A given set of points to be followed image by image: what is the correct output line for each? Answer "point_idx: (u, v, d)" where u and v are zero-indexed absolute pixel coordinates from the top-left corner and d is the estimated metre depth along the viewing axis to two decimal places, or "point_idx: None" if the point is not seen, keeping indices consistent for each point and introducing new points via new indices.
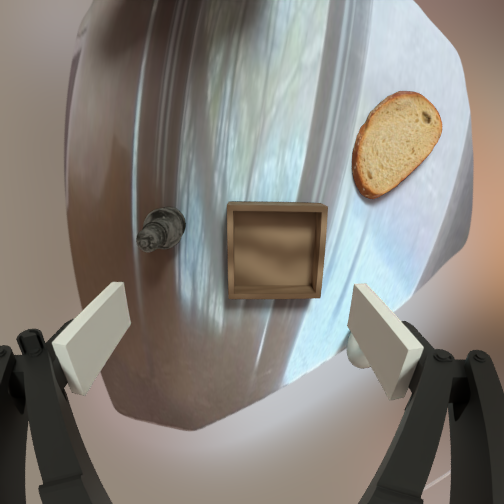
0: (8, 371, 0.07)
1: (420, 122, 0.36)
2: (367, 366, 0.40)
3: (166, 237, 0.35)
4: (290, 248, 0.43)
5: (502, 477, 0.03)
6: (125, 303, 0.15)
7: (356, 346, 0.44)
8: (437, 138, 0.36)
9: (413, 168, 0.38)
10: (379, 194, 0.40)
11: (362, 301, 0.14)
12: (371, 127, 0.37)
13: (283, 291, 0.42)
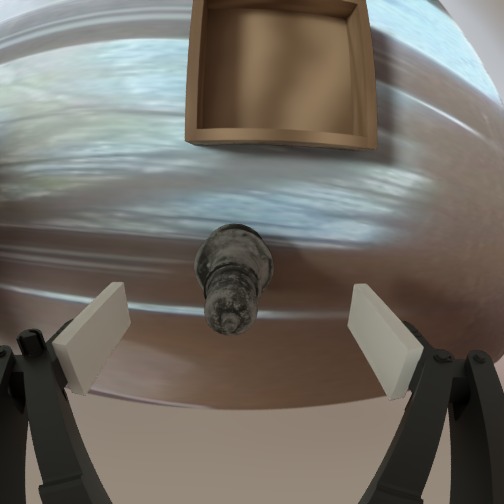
0: (8, 371, 0.07)
1: None
2: None
3: (236, 264, 0.17)
4: (280, 42, 0.19)
5: (502, 477, 0.03)
6: (125, 303, 0.15)
7: None
8: None
9: None
10: None
11: (362, 301, 0.14)
12: None
13: (359, 52, 0.17)
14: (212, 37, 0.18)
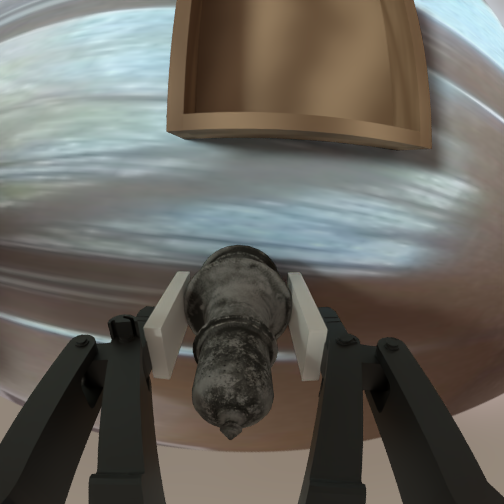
0: (86, 364, 0.09)
1: None
2: None
3: (241, 319, 0.11)
4: (298, 8, 0.13)
5: (452, 465, 0.04)
6: None
7: None
8: None
9: None
10: None
11: (291, 288, 0.16)
12: None
13: (401, 24, 0.11)
14: (210, 1, 0.12)
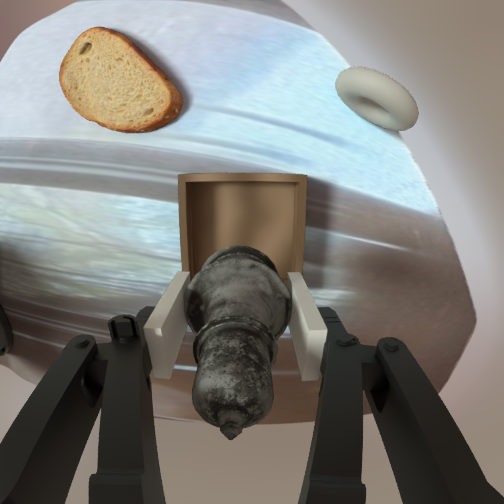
0: (86, 364, 0.09)
1: (89, 55, 0.26)
2: (414, 108, 0.22)
3: (241, 320, 0.11)
4: (242, 211, 0.33)
5: (452, 465, 0.04)
6: None
7: (386, 117, 0.27)
8: (103, 32, 0.24)
9: (138, 56, 0.26)
10: (171, 96, 0.28)
11: (290, 288, 0.16)
12: (95, 116, 0.29)
13: (296, 224, 0.32)
14: (195, 207, 0.33)
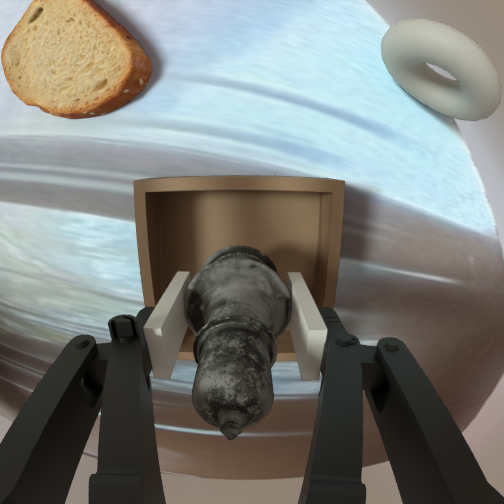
0: (86, 364, 0.09)
1: (38, 21, 0.14)
2: (500, 88, 0.10)
3: (241, 320, 0.11)
4: (239, 235, 0.22)
5: (452, 465, 0.04)
6: None
7: (454, 99, 0.15)
8: None
9: (93, 11, 0.14)
10: (133, 59, 0.16)
11: (290, 288, 0.16)
12: (34, 98, 0.17)
13: (324, 259, 0.20)
14: (167, 230, 0.21)
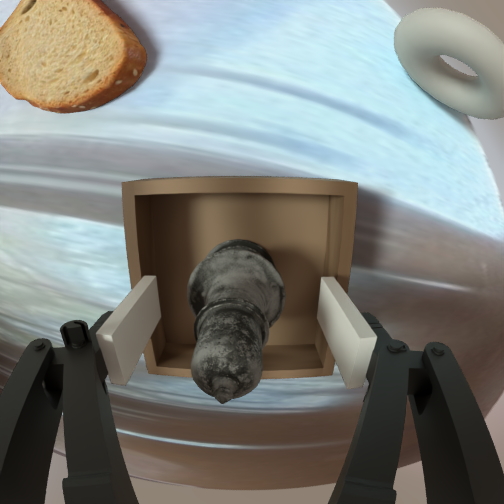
0: (45, 366, 0.08)
1: (30, 12, 0.12)
2: None
3: (236, 301, 0.13)
4: None
5: (479, 469, 0.04)
6: (157, 296, 0.16)
7: (472, 95, 0.13)
8: None
9: None
10: (126, 48, 0.14)
11: (327, 293, 0.15)
12: (23, 92, 0.15)
13: (333, 269, 0.18)
14: (160, 236, 0.19)
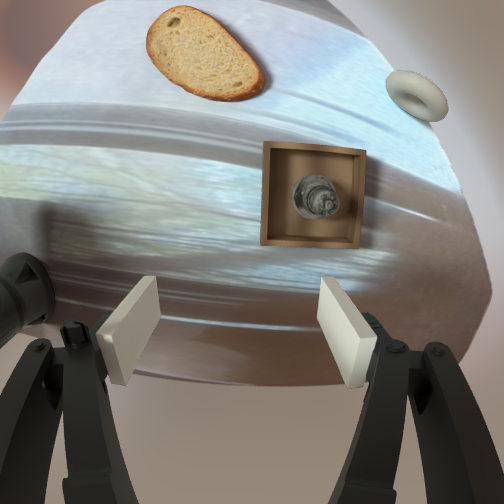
0: (45, 365, 0.08)
1: (179, 28, 0.31)
2: (445, 104, 0.27)
3: (324, 186, 0.32)
4: None
5: (479, 469, 0.04)
6: (157, 296, 0.16)
7: (423, 110, 0.31)
8: (195, 10, 0.29)
9: (230, 36, 0.31)
10: (259, 74, 0.33)
11: (327, 293, 0.15)
12: (184, 81, 0.34)
13: (356, 189, 0.37)
14: (272, 172, 0.38)
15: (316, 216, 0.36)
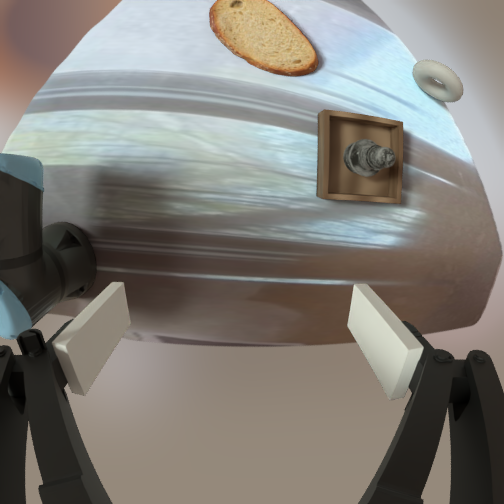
0: (8, 371, 0.07)
1: (242, 10, 0.34)
2: (462, 87, 0.31)
3: (379, 146, 0.35)
4: None
5: (502, 477, 0.03)
6: (125, 303, 0.15)
7: (443, 92, 0.35)
8: None
9: (289, 21, 0.34)
10: (315, 55, 0.37)
11: (362, 301, 0.14)
12: (250, 54, 0.37)
13: (396, 154, 0.40)
14: None
15: (368, 174, 0.40)
